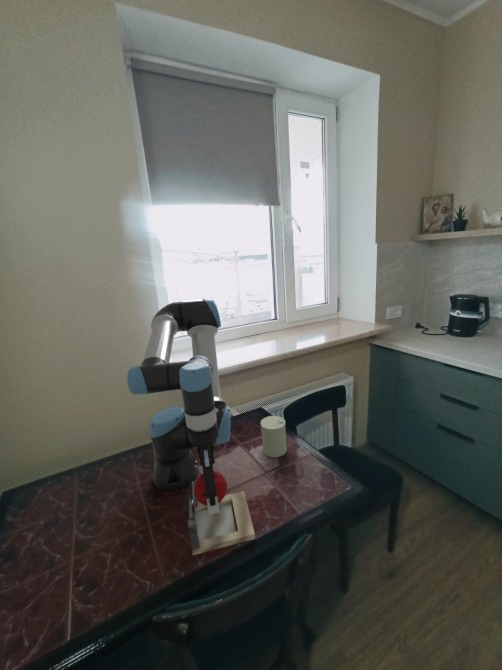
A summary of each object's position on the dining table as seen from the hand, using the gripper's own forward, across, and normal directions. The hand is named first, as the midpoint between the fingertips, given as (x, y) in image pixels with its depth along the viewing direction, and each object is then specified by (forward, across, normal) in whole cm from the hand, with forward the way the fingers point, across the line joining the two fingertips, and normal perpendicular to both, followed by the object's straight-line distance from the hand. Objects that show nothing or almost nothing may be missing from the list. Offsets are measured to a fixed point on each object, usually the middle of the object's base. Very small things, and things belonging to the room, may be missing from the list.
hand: (212, 498), depth 79 cm
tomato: (+1, 0, 0) cm, 1 cm away
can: (+9, +26, -25) cm, 37 cm away
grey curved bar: (+7, 0, +6) cm, 9 cm away
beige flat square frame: (+9, 0, -2) cm, 9 cm away
